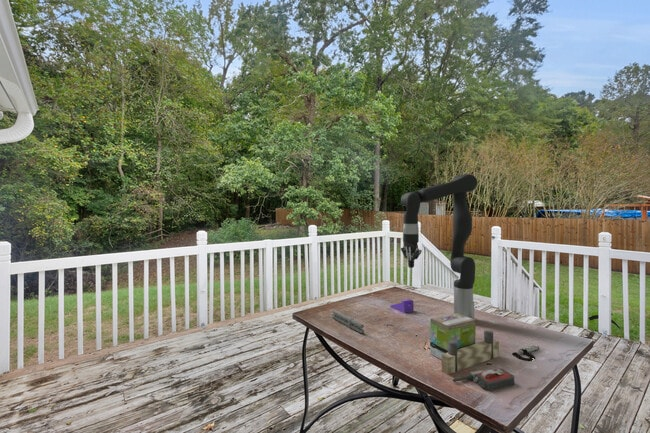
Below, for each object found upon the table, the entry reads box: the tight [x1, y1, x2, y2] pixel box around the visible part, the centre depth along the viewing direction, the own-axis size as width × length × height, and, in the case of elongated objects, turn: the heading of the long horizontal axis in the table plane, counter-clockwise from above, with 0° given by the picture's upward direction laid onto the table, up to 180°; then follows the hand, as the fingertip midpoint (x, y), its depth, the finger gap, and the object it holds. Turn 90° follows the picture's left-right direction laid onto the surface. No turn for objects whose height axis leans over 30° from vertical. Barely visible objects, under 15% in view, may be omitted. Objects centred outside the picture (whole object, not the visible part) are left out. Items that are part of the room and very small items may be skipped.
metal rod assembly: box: [331, 309, 365, 335], centre depth 163 cm, size 26×3×5 cm, turn 30°
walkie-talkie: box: [452, 368, 515, 392], centre depth 108 cm, size 9×4×20 cm
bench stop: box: [441, 329, 500, 375], centre depth 122 cm, size 28×3×10 cm, turn 118°
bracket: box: [390, 298, 415, 314], centre depth 187 cm, size 12×7×7 cm, turn 28°
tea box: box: [429, 312, 477, 361], centre depth 129 cm, size 15×10×15 cm, turn 117°
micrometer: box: [512, 345, 540, 362], centre depth 128 cm, size 15×7×2 cm, turn 113°
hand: (411, 267), depth 161 cm, fingers closed
